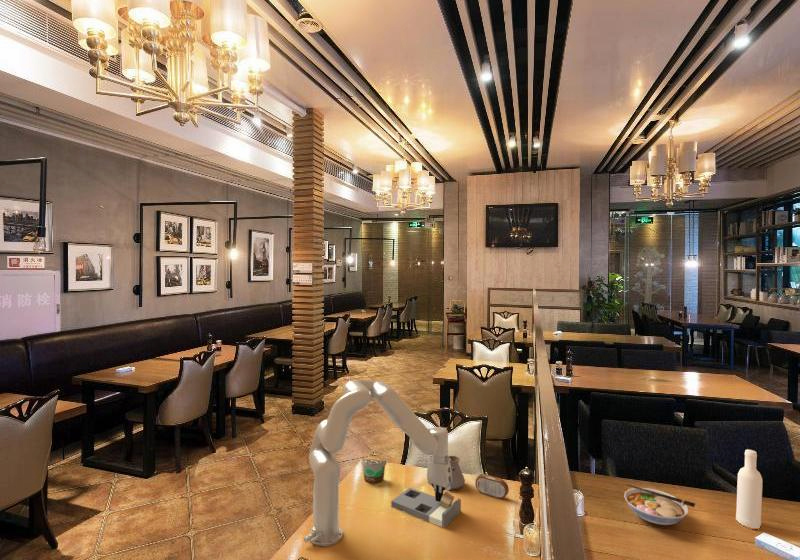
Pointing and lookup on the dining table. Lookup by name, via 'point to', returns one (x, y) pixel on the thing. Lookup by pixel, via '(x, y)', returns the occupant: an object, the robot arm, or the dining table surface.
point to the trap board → (426, 507)
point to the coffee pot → (456, 473)
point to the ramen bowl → (656, 505)
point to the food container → (373, 470)
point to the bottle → (749, 492)
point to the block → (447, 499)
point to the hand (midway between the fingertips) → (439, 500)
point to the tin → (492, 486)
